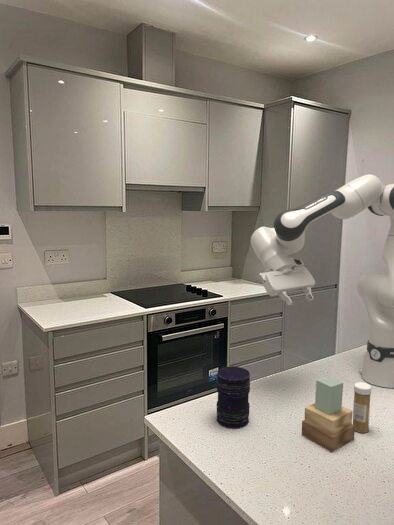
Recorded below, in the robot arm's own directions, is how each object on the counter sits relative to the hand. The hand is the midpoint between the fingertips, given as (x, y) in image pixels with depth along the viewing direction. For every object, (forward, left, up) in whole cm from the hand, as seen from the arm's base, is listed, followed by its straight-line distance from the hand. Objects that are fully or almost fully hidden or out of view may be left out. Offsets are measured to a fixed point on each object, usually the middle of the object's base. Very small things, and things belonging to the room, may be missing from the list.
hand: (301, 302), depth 130 cm
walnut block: (+10, +20, -34) cm, 40 cm away
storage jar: (+26, -3, -34) cm, 42 cm away
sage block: (+10, +19, -25) cm, 33 cm away
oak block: (+10, +19, -29) cm, 36 cm away
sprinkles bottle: (-1, +22, -34) cm, 40 cm away
